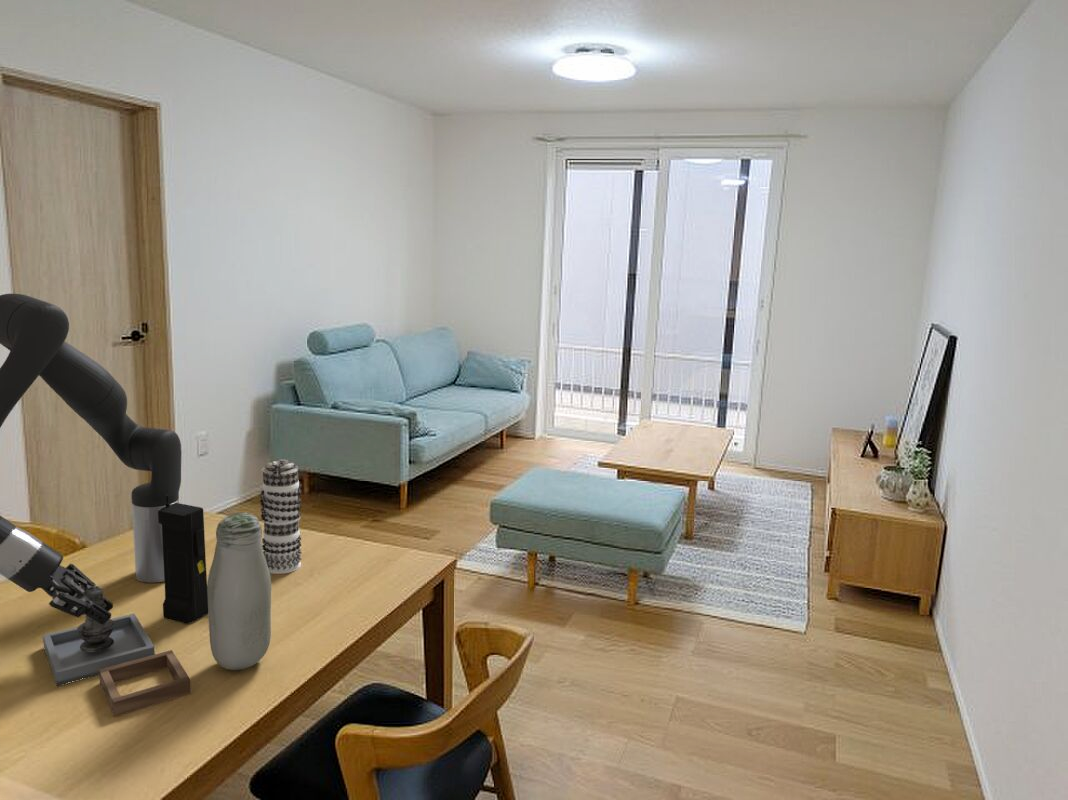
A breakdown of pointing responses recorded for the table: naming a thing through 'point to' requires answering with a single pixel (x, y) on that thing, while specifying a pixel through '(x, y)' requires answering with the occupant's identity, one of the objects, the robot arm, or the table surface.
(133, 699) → the walnut collar
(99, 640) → the dark grey chess piece
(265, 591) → the glass bottle
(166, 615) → the portable radio
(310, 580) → the table surface
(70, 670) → the grey tray
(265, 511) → the decorative candle
